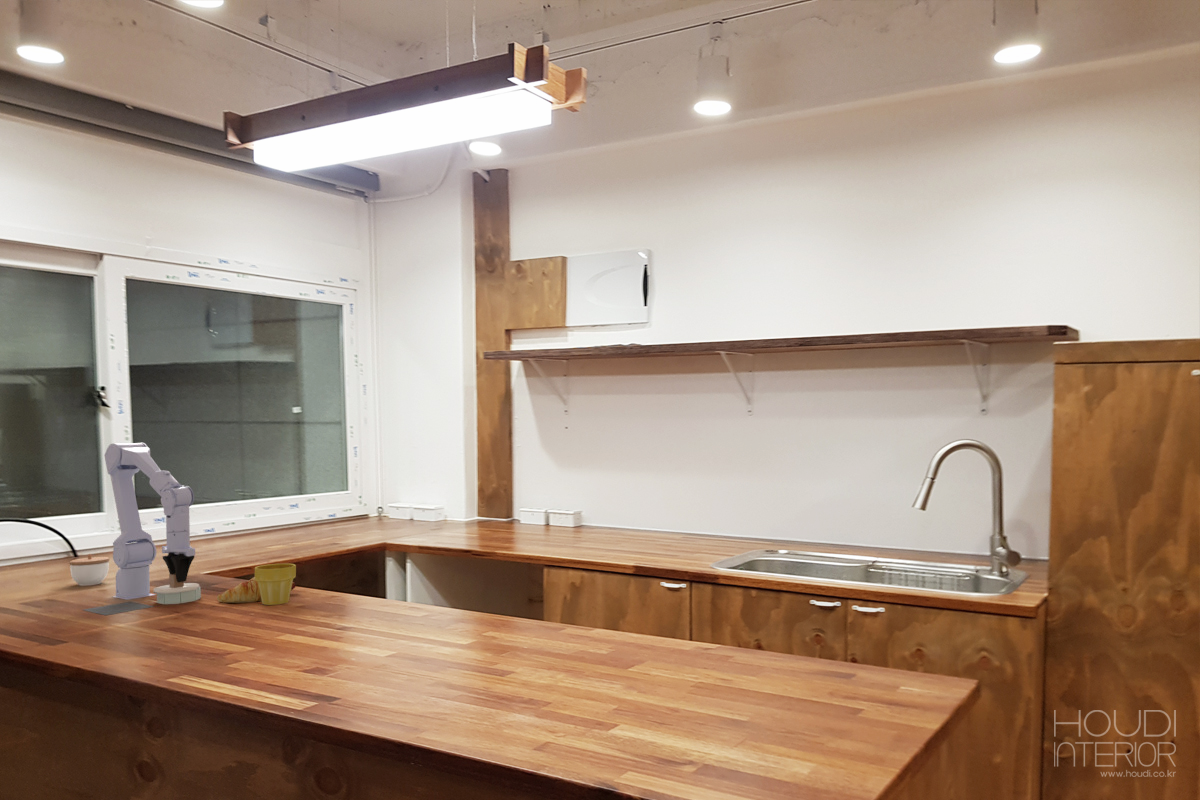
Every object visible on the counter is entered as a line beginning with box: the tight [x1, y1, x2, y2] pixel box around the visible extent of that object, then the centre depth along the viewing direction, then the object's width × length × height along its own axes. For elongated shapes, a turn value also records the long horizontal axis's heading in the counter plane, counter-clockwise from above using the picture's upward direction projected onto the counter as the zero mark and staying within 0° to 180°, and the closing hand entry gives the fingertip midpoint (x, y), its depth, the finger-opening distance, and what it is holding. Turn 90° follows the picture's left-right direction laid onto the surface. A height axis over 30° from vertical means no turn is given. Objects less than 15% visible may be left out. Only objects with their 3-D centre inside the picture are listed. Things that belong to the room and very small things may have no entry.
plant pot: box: [254, 562, 297, 606], centre depth 227 cm, size 10×10×10 cm
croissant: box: [216, 576, 297, 604], centre depth 234 cm, size 21×10×8 cm, turn 134°
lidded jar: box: [69, 553, 110, 587], centre depth 269 cm, size 11×11×9 cm
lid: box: [153, 573, 200, 595], centre depth 232 cm, size 11×11×4 cm
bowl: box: [156, 586, 202, 605], centre depth 232 cm, size 10×10×4 cm
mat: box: [82, 601, 155, 616], centre depth 223 cm, size 14×12×1 cm
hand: (178, 581), depth 232 cm, fingers closed on lid, 2 cm apart
